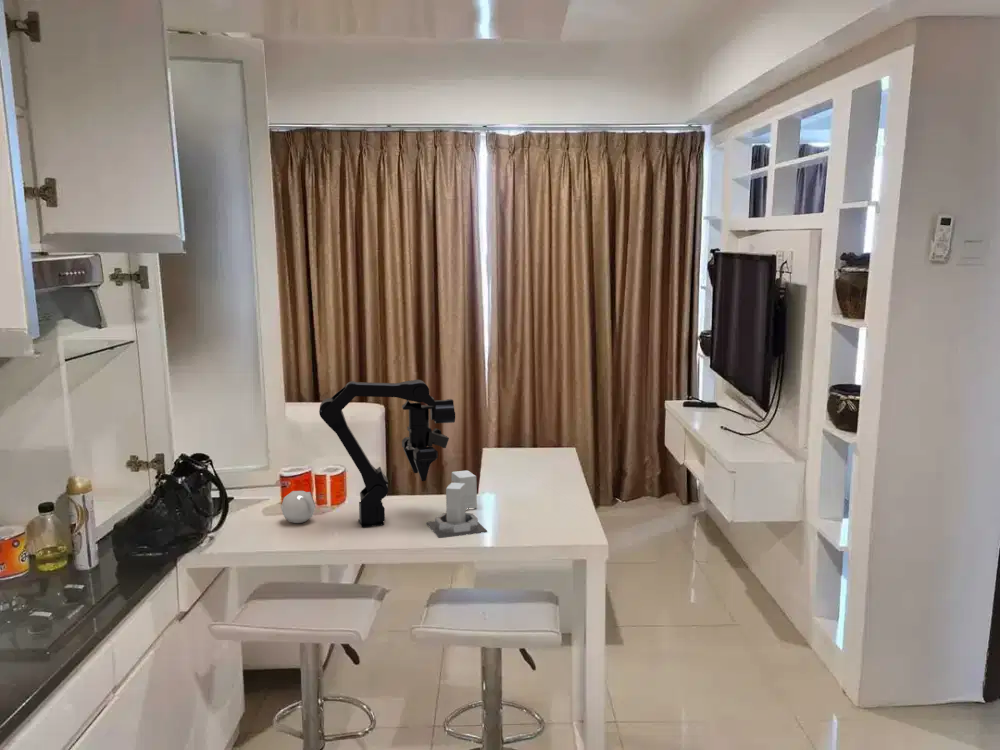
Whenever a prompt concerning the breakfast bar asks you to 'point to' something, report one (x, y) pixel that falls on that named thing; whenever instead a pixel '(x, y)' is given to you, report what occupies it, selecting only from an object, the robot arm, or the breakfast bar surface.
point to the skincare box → (455, 503)
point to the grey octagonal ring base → (455, 526)
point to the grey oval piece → (298, 506)
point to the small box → (467, 487)
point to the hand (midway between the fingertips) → (419, 476)
